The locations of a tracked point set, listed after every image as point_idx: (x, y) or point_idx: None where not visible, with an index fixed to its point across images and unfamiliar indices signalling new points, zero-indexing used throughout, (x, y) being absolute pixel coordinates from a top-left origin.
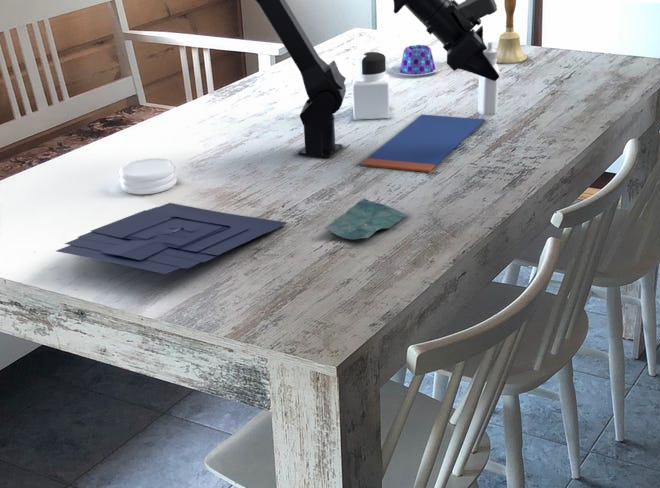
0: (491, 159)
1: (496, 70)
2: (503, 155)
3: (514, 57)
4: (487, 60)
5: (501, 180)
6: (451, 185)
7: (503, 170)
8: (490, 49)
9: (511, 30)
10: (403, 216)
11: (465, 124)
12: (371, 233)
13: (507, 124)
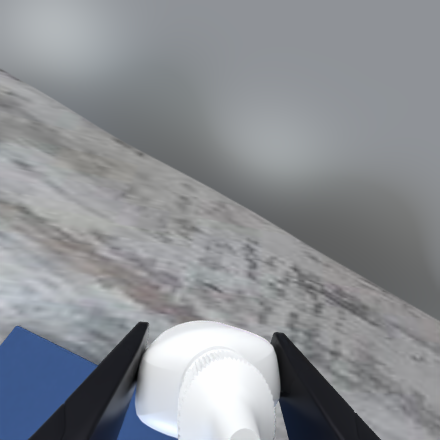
0: (253, 331)
1: (264, 346)
2: (236, 307)
3: None
4: (373, 434)
5: (343, 323)
6: (376, 418)
7: (303, 315)
8: (259, 423)
9: None
10: None
11: (33, 377)
12: None
13: (64, 279)
